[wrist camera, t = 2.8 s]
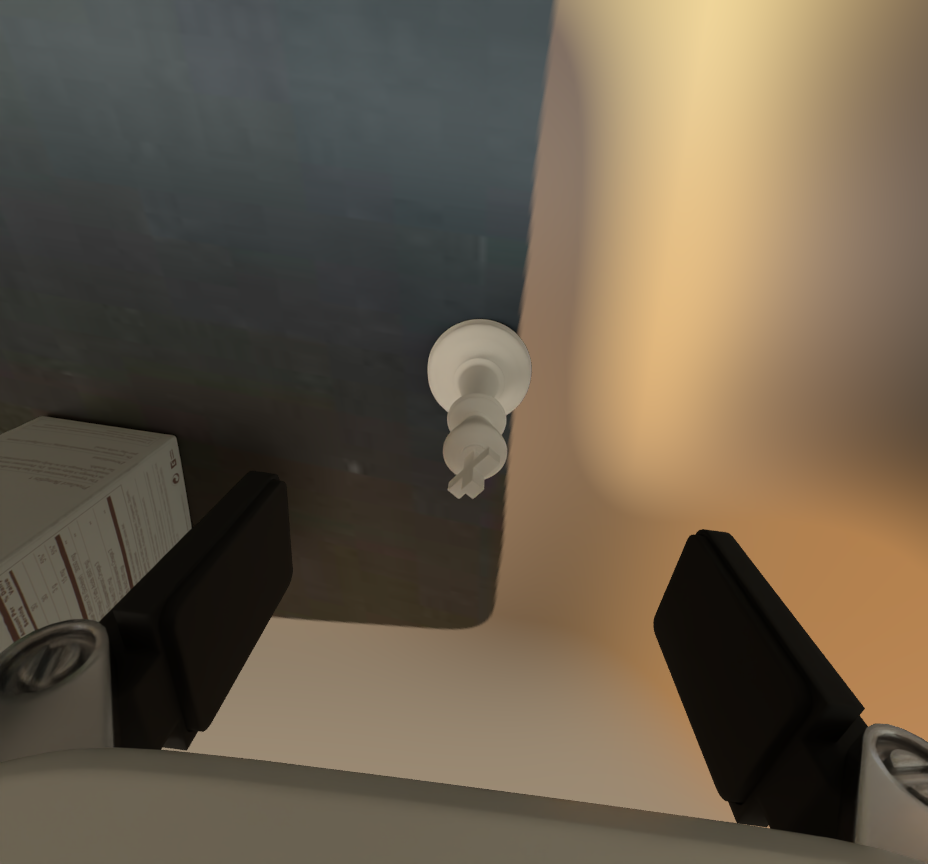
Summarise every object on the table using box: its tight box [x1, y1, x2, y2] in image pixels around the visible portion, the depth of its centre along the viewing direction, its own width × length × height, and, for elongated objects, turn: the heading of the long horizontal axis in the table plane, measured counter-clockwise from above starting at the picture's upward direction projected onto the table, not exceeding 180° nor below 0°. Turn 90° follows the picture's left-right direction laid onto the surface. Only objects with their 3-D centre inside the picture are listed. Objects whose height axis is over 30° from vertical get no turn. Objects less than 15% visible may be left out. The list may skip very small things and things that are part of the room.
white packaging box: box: [0, 416, 192, 653], centre depth 19 cm, size 7×7×13 cm
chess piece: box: [428, 319, 532, 499], centre depth 16 cm, size 5×5×10 cm
